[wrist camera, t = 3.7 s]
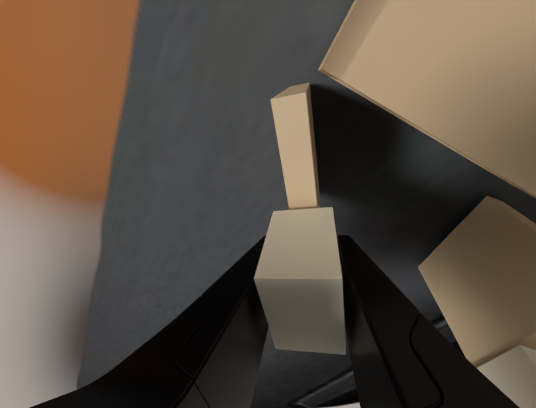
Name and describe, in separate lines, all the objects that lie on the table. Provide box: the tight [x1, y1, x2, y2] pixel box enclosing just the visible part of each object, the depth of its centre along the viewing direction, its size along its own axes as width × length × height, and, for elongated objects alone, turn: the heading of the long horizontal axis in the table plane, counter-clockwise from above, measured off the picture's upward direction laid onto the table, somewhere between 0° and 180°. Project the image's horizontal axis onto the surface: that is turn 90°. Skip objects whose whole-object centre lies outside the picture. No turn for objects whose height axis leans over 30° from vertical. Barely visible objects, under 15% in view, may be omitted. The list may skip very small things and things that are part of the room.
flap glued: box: [254, 82, 346, 355], centre depth 9 cm, size 2×6×10 cm, turn 10°
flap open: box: [418, 196, 536, 408], centre depth 11 cm, size 2×6×10 cm, turn 163°
